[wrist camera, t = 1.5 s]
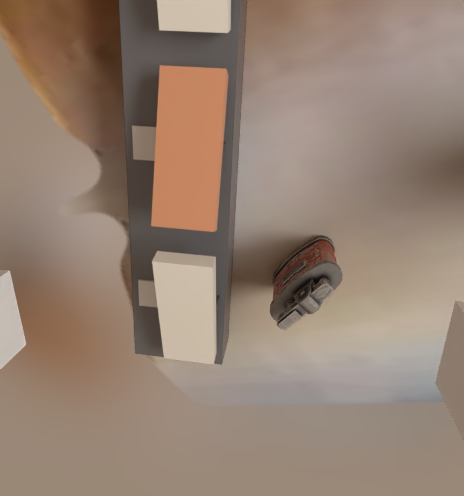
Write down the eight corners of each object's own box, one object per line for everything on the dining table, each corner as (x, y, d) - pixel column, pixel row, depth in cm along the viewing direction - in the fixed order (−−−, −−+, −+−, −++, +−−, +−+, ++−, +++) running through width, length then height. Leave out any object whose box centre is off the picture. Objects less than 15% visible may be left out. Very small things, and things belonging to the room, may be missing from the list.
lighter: (319, 228, 43) (327, 266, 34) (341, 249, 43) (355, 292, 34) (265, 275, 46) (260, 322, 36) (286, 295, 46) (286, 346, 37)
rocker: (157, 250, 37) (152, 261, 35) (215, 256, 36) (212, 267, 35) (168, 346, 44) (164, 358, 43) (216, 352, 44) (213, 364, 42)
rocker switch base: (133, -208, 32) (95, -280, 26) (258, -211, 31) (251, -287, 25) (149, 329, 50) (129, 362, 44) (228, 338, 49) (219, 374, 43)
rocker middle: (165, 71, 34) (159, 65, 32) (228, 74, 33) (226, 68, 32) (156, 224, 36) (151, 226, 34) (216, 230, 35) (213, 231, 34)
